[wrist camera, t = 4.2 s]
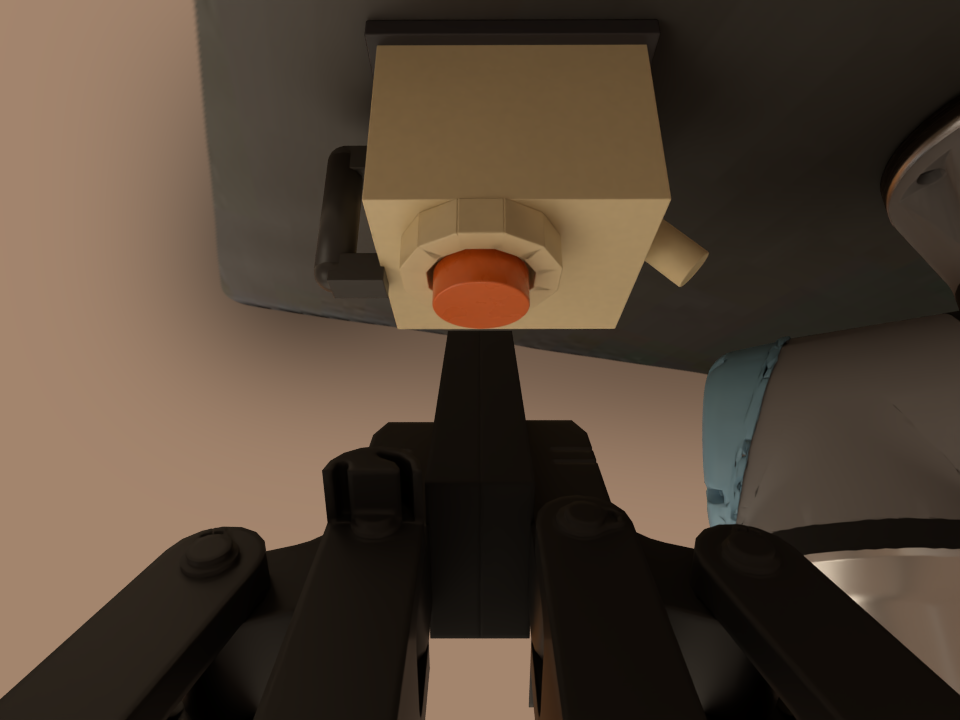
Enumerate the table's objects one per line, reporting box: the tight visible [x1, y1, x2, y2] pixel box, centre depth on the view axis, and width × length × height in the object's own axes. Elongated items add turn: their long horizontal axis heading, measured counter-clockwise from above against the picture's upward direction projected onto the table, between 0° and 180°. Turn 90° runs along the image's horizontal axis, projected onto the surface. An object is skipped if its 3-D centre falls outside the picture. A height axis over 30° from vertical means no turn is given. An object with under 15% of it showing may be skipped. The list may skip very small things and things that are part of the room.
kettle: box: [362, 45, 671, 329], centre depth 33 cm, size 13×12×12 cm
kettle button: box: [432, 249, 530, 329], centre depth 28 cm, size 4×4×2 cm
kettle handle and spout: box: [314, 20, 709, 298], centre depth 33 cm, size 20×13×11 cm, turn 90°
